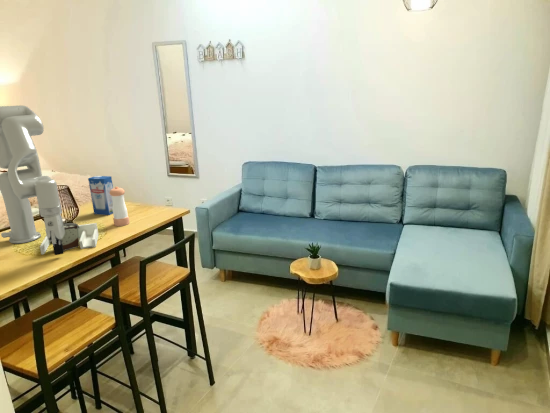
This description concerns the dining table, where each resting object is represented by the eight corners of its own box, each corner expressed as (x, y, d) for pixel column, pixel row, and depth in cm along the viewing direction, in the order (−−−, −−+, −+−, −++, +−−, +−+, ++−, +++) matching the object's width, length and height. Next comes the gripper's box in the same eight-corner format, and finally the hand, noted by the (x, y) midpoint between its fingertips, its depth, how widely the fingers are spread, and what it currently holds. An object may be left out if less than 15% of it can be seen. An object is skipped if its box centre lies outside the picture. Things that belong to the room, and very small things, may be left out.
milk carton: (94, 214, 222) (87, 178, 216) (101, 210, 228) (96, 175, 222) (109, 215, 219) (103, 178, 213) (116, 211, 225) (111, 176, 219)
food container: (78, 241, 182) (74, 220, 179) (82, 245, 177) (78, 223, 175) (48, 249, 174) (43, 227, 171) (51, 253, 170) (47, 231, 167)
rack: (41, 254, 169) (38, 241, 167) (48, 241, 183) (45, 229, 181) (95, 246, 175) (93, 233, 174) (98, 235, 189) (96, 222, 188)
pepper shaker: (124, 226, 200) (118, 188, 195) (111, 226, 202) (105, 188, 196) (132, 221, 207) (127, 185, 201) (119, 221, 208) (113, 184, 203)
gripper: (58, 214, 154) (67, 259, 160) (64, 204, 168) (72, 245, 173) (36, 217, 152) (45, 262, 157) (43, 206, 166) (52, 248, 171)
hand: (59, 253), depth 165 cm, fingers closed
